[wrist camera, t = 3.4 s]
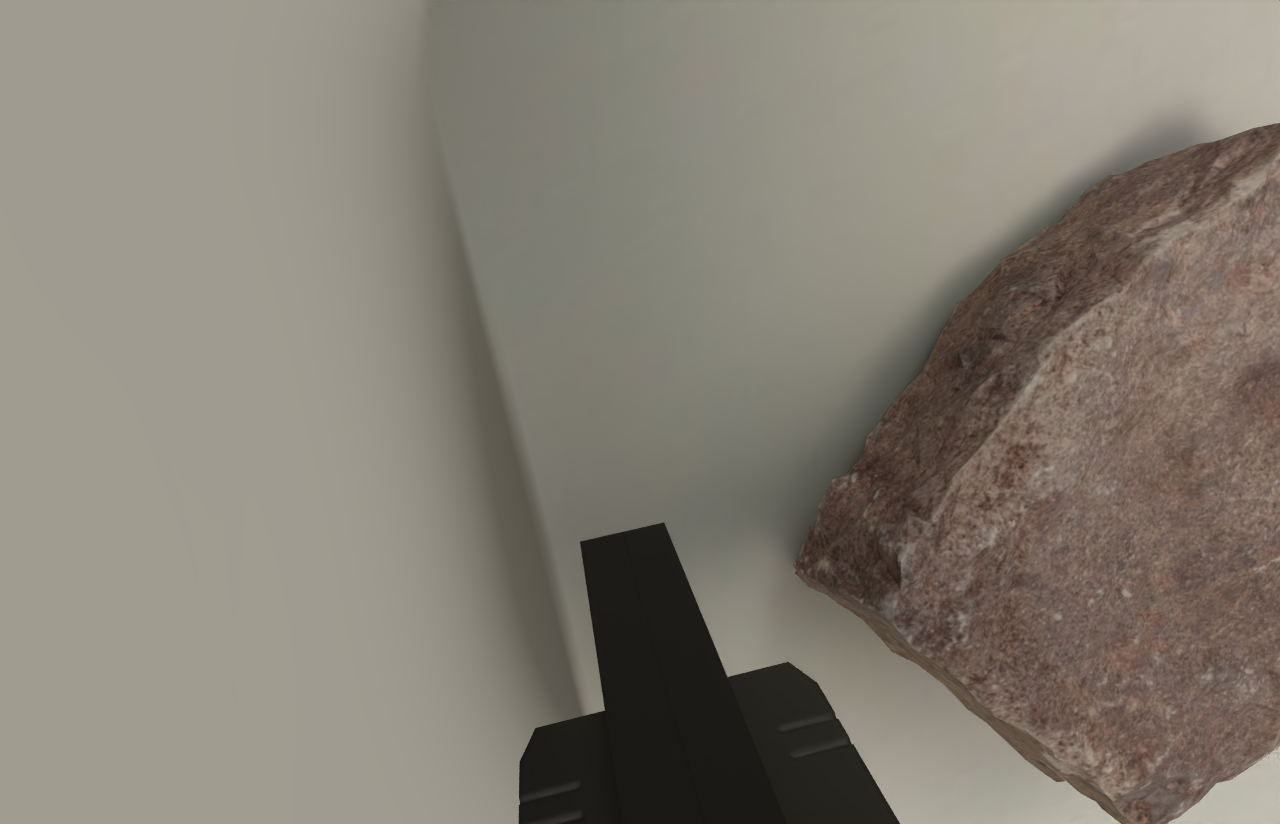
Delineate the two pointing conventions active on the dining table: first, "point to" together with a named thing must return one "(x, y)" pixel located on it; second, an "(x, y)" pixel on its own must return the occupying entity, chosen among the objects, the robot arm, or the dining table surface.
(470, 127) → the dining table surface
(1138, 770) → the stone
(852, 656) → the dining table surface
